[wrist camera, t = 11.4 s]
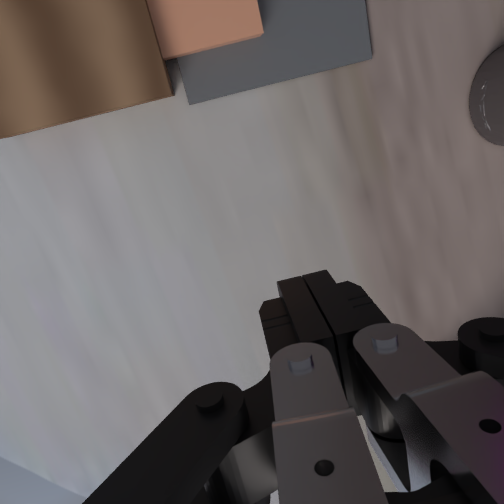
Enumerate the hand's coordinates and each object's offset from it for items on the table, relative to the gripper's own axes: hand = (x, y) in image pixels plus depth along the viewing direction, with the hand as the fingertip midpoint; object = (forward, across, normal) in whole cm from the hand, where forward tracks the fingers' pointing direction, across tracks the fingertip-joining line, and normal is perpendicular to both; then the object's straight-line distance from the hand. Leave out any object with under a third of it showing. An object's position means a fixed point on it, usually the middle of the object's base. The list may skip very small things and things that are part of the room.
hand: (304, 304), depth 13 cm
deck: (+28, +11, -13) cm, 32 cm away
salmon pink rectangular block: (+27, 0, -13) cm, 30 cm away
